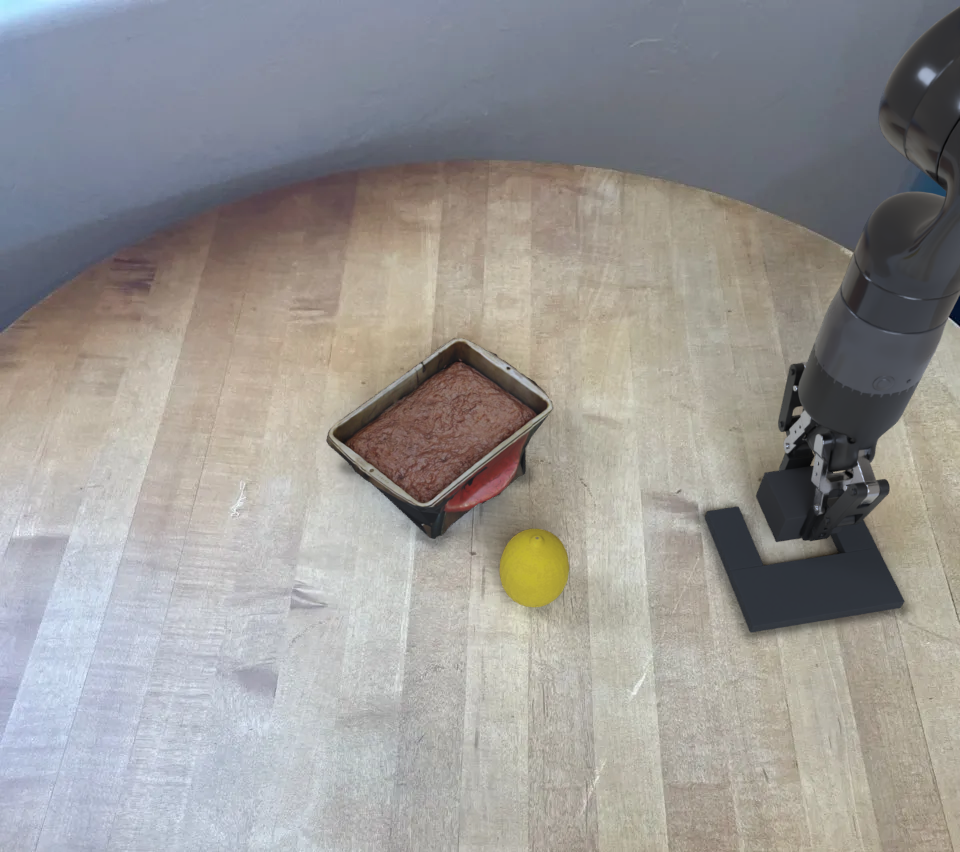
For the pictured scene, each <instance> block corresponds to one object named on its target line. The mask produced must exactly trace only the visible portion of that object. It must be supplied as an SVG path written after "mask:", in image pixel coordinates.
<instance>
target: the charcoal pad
mask: <svg viewBox="0 0 960 852" xmlns="http://www.w3.org/2000/svg"><path fill="white" fill-rule="evenodd" d="M741 511H742V510H741V508H740V507H739V506H732V507H731V506H730V507H725V508H718V509H711V510H707V511H706V513H705V515H704V521H705V523H706V525H707V528H708V531H709V533H710V535H711V538H712V540H713V543H714V546H715V548H716V551H717V553H718V555H719V558H720V561H721V564H722V566H723V568H724V570H725V573H726V576H727V578H728V580H729V583H730V586H731V589H732V590H733V594H734V595H735V598H736V601H737V603H738V605H739V608H740V611H741V613H742V616H743V619H744V622H745V623H746V626H747V628H748V631H749V633H751V634H752V633H757V632H762V631H771V630H775V629H781V628H787V627H788V628H789V627H794V626H799V625H800V626H801V625H807V624H812V623H818V622H823V621H830V620H836V619H843V618H847V617H848V618H849V617H854V616H861V615H866V614H872V613H879V612H884V611H890V610H896V609H897V610H899V609H901V608H902V607H903V605H904V604H905V600H904V598H903V595H902V593H901V592H900V590H899V587H898V585H897V584H896V581H895V580H894V577H893V575H892V573H891V572H890V569H889V568H888V567H889V566H888V565H887V563H886V562H885V559H884V558H883V556H882V554H881V551H880V549H879V547H878V545H877V544H876V542H875V540H874V538H873V536H872V533H871V532H870V530H869V528H868V525H867V524H866V522H865V519H863V520H862V521H861V522H860V523H859V524H855V525H849V526H843V527H842V529H841V531H840V532H839V533H833V534H830V537H831V539H832V542H833V544H834V546H835V548H836V550H837V552H838V553H833V554H827V555H821V556H815V557H808V558H803V559H795V560H789V561H784V562H777V563H771V564H764V563H763V561H762V559H761V556H760V554H759V551H758V549H757V547H756V543H755V541H754V540H753V538H752V537H753V536H752V535H751V533H750V530H749V528H748V525H747V523H746V520H745V518H744V516H743V514H742V512H741Z"/></svg>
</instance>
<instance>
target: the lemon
mask: <svg viewBox="0 0 960 852" xmlns="http://www.w3.org/2000/svg"><path fill="white" fill-rule="evenodd" d="M569 574H570V561H569V555H568V552H567V549H566V548H565V545H564V543H563V542H562V541H561V540H560V538H559V537H558V536H557V535H556V534H554V533H552V531H549V530H546V529H543V528H527V529H524V530H521V531H520V532H518V533H516V534H515V535H513V536H512V538H511V539H509V540H508V542H507V544H506V545H505V547H504V549H503V552H502V554H501V556H500V560H499V579H500V583H501V586H502V588H503V590H504V592H505V593H506V595H507V596H508V597H509V599H511V600H512V601H513V602H515V603H517V604H518V605H521V606H523V607H526V608H541V607H544V606H548V605H550V604H551V603H553V602H554V601H555V600H556V599H557V598H559V597H560V595H561V594H562V593H563V591H564V589H565V587H566V585H567V583H568V580H569Z"/></svg>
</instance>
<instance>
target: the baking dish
mask: <svg viewBox="0 0 960 852" xmlns="http://www.w3.org/2000/svg"><path fill="white" fill-rule="evenodd" d="M553 410H554V405H553V401H552V400H551V398H550V397H549V395H548V394H547V392H546V391H545V390H544V389H543V388H542V387H540V386H539V385H538V383H537V382H536V381H535V380H533V379H531V378H530V377H528V376H526V375H525V374H524V373H523V372H520V371H518V369H517V368H516V367H514V366H513V365H512V364H510V363H509V362H508V361H506V360H504V359H503V358H501V357H499V355H498V354H497V353H494V352H493V351H490V350H488V349H486V348H484V347H482V346H481V345H479V344H477V343H475V342H473V341H471V340H470V339H467V338H463V337H453V338H452V339H450V340H448V341H446V342H445V343H443V344H442V345H441V346H439V347H437V348H436V349H435V350H434V351H433V352H432V353H431V354H429V355H428V356H426V358H424V359H423V360H422V361H420V362H418V363H417V364H416V365H414V366H413V367H412V368H410V369H409V370H408V371H406V372H405V373H404V374H403V375H401V376H400V377H399V378H397V379H396V380H394V381H392V382H391V383H390V384H389V385H387V386H386V387H384V388H382V389H381V390H380V391H378V392H377V393H376V394H374V396H372V397H370V398H369V399H367V400H366V401H365V402H363V403H362V404H361V405H359V406H358V407H357V408H356V409H354V410H352V411H351V412H349V413H348V414H347V415H345V416H344V417H342V418H341V419H339V420H338V421H337V422H336V423H334V424H333V425H332V426H331V427H330V428H329V430H328V432H327V435H326V439H325V441H326V443H327V445H328V446H329V447H330V448H331V449H332V450H333V451H334V452H335V453H336V454H338V455H339V456H340V457H341V458H342V459H343V460H345V461H346V463H348V466H351V468H352V470H353V471H354V472H355V473H356V474H358V475H359V476H360V477H361V478H362V479H363V480H364V481H367V482H368V483H370V484H371V485H373V487H375V489H377V490H378V491H379V493H381V494H382V495H384V496H385V498H386V499H388V500H389V502H391V503H392V504H393V505H394V506H395V507H396V508H397V509H398V510H399V511H400V512H401V513H403V515H405V516H406V517H407V518H408V519H409V520H410V521H411V522H412V523H413V524H414V525H415V526H416V527H417V528H419V530H420V531H422V532H423V533H424V534H425V535H426V536H427V537H428V538H430V539H434V540H435V539H436V538H438V537H441V536H443V535H444V534H445V533H446V532H447V531H448V529H449V528H451V526H452V525H453V524H455V523H456V522H457V521H458V520H460V519H461V518H462V517H463V516H465V515H466V514H467V513H468V512H470V511H471V510H472V509H473V508H475V507H476V506H477V505H479V504H480V505H481V504H482V505H483V504H485V503H486V502H487V501H489V500H491V499H493V498H496V497H498V496H500V495H501V494H502V493H503V492H504V490H505V489H507V488H508V487H509V486H510V485H511V484H512V483H513V482H514V481H516V480H517V479H518V478H519V477H521V476H524V475H525V474H526V473H527V472H526V469H527V468H526V467H527V465H526V459H527V458H526V457H527V456H526V452H527V451H526V449H527V447H528V445H529V443H530V441H531V438H532V437H533V436H534V435H535V433H536V432H537V431H538V430H539V428H540V427H541V426H542V424H543V423H544V421H546V419H547V417H548V416H549V415H550V414H551V413H552V411H553Z"/></svg>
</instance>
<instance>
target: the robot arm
mask: <svg viewBox="0 0 960 852" xmlns="http://www.w3.org/2000/svg"><path fill="white" fill-rule="evenodd" d="M877 120H878V125H879V126H878V127H879V129H880V132H881V134H882V136H883V138H884V139H885V140H886V141H887V143H888V144H889V145H890V146H891V147H892V148H893V149H894V150H895V151H897V152H898V153H899V154H900V155H901V156H902V157H904V158H905V159H906V160H907V161H908V162H910V163H911V164H912V165H914V167H916V168H917V169H919V171H921V172H922V173H924V174H925V175H926V176H927V177H928V178H929V179H931V181H933V182H934V183H935V184H937V185H938V186H939V187H940V188H941V189H943V190H944V191H945V196H942V195H940V194H936V193H932V192H925V191H905V192H900V193H897V194H894V195H891V196H889V197H888V198H885V199H884V200H883V201H881V202H880V203H879V204H878V205H876V207H875V208H874V210H873V211H872V212H871V213H870V215H869V217H868V218H867V220H866V222H865V224H864V226H863V228H862V231H861V232H860V235H859V238H858V240H857V243H856V246H855V248H854V251H853V252H852V256H851V258H850V260H849V263H848V266H847V268H846V270H845V273H844V276H843V278H842V281H841V283H840V286H839V287H838V290H837V291H836V293H835V295H834V296H833V298H832V300H831V301H830V303H829V305H828V308H827V310H826V312H825V315H824V317H823V320H822V323H821V325H820V328H819V330H818V333H817V336H816V338H815V341H814V343H813V345H812V348H811V350H810V353H809V356H808V358H807V361H802V362H797V363H792V364H790V365H789V368H788V373H787V377H786V382H785V387H784V392H783V395H782V402H781V407H780V411H779V415H778V420H777V428H778V431H779V432H780V433H784V432H785V435H786V437H785V438H784V441H783V450H784V455H783V457H782V460H781V462H780V465H779V467H778V468H779V469H778V471H779V470H788V469H794V468H801V467H808V466H812V464H813V465H814V467H813V473H812V478H811V482H812V484H813V485H814V486H815V487H816V490H815V495H814V501H813V506H811V508H810V510H809V512H808V514H807V517H806V519H805V521H804V523H803V526H802V528H801V530H800V532H799V533H800V535H801V538H800V539H802V541H804V542H806V541H807V542H815V541H819V540H820V541H821V540H827V539H828V538H829V537H831V535H830V534H831V532H832V530H833V528H836V527H842V526H849V525H855V524H859V523H860V522H861V521H862V520H865V519H866V518H867V517H868V516H869V514H871V513H872V512H873V511H874V510H875V509H876V507H877V506H878V505H880V504H881V502H882V501H883V500H884V499H885V498H886V497H887V496H888V495H889V493H890V491H891V488H890V487H891V486H890V483H889V481H888V480H887V479H886V478H882V479H877V478H876V476H875V473H874V470H873V467H872V464H871V463H872V462H873V461H874V459H875V458H876V457H875V456H876V450H877V446H878V445H877V444H878V441H879V439H880V438H881V437H882V436H883V435H884V434H886V433H887V432H888V431H889V430H890V429H891V428H893V427H894V426H895V425H897V423H898V422H899V421H900V419H901V418H902V416H903V414H904V412H905V410H906V409H907V407H908V405H909V403H910V402H911V399H912V397H913V395H914V393H915V391H916V389H917V388H918V386H919V384H920V382H921V381H922V378H923V376H924V374H925V372H926V370H927V368H928V366H929V365H930V363H931V361H932V359H933V357H934V355H935V353H936V351H937V349H938V347H939V344H940V342H941V340H942V336H943V334H944V331H945V328H946V325H947V322H948V320H949V317H950V315H951V313H952V312H953V309H954V307H955V305H956V303H957V301H958V300H959V297H960V5H959V6H957V7H956V8H954V9H953V10H952V11H950V12H949V13H948V14H946V15H944V16H943V17H941V18H940V19H939V20H937V21H935V23H934V24H933V25H931V26H930V27H928V29H927V30H925V31H924V32H923V33H922V34H921V35H920V36H919V37H918V38H917V39H916V40H915V41H914V42H912V44H911V45H910V46H909V48H907V50H906V51H905V52H904V53H903V55H902V56H901V57H900V59H899V61H898V62H897V64H896V65H895V67H893V69H892V71H891V72H890V74H889V77H888V79H887V80H886V83H885V85H884V87H883V91H882V93H881V97H880V100H879V105H878V119H877ZM799 407H800V408H801V407H802V410H801V413H800V414H795V415H794V410H795V409H796V408H799ZM827 471H829V472H833V473H832V474H827ZM837 489H839V491H838V496H837V497H835V498H828V495H829V492H830V491H832V490H837Z"/></svg>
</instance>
